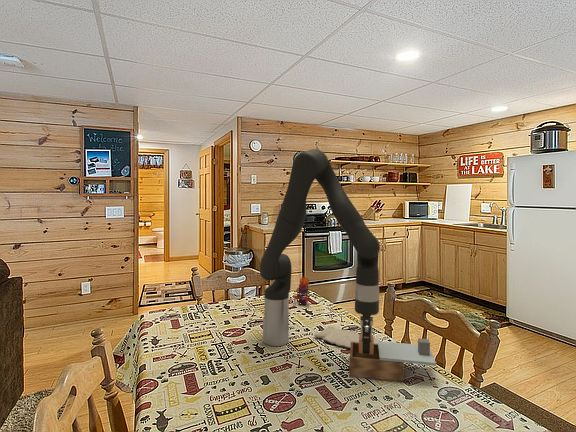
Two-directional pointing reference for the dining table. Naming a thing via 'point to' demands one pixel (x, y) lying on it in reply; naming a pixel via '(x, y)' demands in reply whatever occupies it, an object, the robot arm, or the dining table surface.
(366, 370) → the brown wooden box
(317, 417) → the dining table surface
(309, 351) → the dining table surface
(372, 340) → the cube
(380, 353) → the lid
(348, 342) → the stone tool
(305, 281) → the figurine
